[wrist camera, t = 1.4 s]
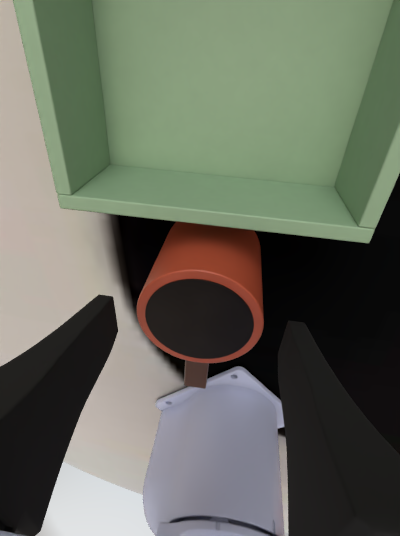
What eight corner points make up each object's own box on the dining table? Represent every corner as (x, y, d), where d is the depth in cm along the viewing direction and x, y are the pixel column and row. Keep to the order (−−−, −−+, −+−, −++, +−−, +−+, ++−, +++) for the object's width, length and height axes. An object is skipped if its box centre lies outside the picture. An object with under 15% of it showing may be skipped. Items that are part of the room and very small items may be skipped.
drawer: (340, 196, 15) (369, 244, 11) (104, 172, 16) (59, 208, 12) (526, -353, 7) (822, -791, 3) (40, -334, 8) (-139, -659, 4)
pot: (165, 202, 16) (131, 262, 12) (269, 213, 16) (275, 280, 11) (166, 317, 21) (143, 391, 16) (245, 328, 21) (243, 407, 16)
